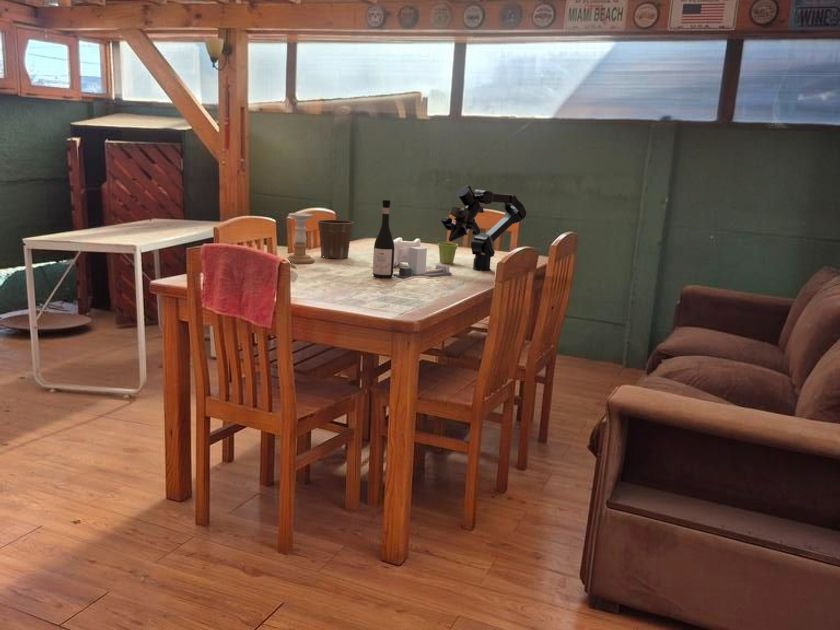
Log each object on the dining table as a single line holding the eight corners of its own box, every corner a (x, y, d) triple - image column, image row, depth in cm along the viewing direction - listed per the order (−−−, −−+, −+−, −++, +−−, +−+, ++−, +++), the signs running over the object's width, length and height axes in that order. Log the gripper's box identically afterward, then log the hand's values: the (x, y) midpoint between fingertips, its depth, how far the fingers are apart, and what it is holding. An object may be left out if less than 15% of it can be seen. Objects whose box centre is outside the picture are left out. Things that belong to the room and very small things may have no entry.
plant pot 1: (308, 255, 326) (309, 219, 322) (334, 253, 338) (336, 218, 334) (333, 260, 316) (334, 224, 312) (359, 258, 328) (361, 222, 324)
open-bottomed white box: (416, 271, 294) (418, 246, 291) (425, 273, 290) (426, 248, 288) (407, 272, 290) (409, 247, 288) (416, 274, 287) (417, 249, 284)
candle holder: (290, 258, 315) (291, 212, 311) (317, 260, 314) (319, 214, 309) (281, 262, 303) (281, 214, 299) (309, 264, 302) (310, 216, 297)
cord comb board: (438, 271, 304) (438, 262, 303) (451, 274, 298) (452, 265, 298) (393, 275, 287) (393, 266, 286) (406, 279, 282) (407, 269, 281)
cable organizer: (414, 269, 307) (416, 242, 304) (390, 267, 308) (391, 240, 306) (419, 264, 321) (421, 238, 319) (396, 262, 323) (397, 236, 320)
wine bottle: (390, 279, 280) (394, 201, 273) (370, 277, 281) (373, 199, 274) (394, 276, 287) (398, 200, 281) (375, 274, 289) (379, 198, 282)
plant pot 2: (460, 263, 331) (461, 244, 329) (450, 265, 324) (451, 246, 322) (443, 260, 336) (444, 242, 334) (432, 262, 328) (433, 243, 326)
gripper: (445, 197, 305) (425, 224, 301) (478, 202, 293) (457, 230, 288) (456, 215, 313) (437, 242, 308) (489, 221, 300) (469, 249, 295)
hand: (449, 240), depth 299 cm, fingers closed
